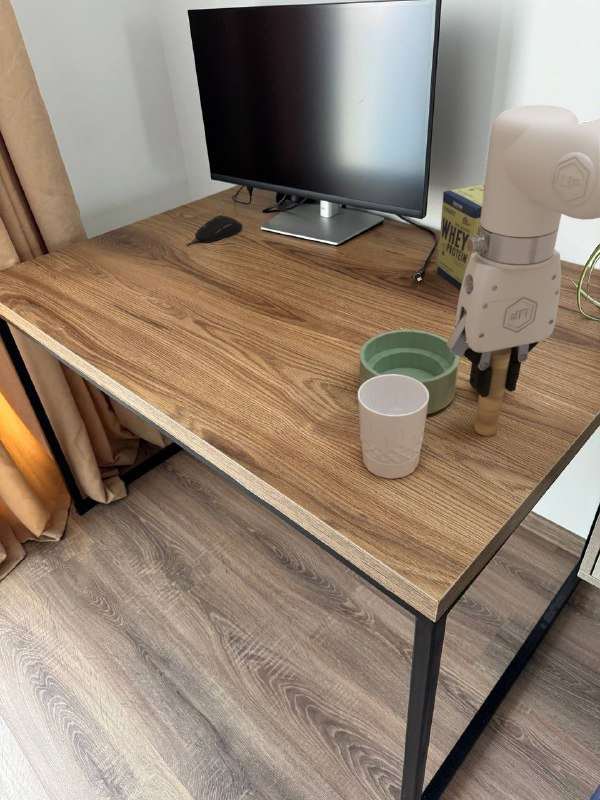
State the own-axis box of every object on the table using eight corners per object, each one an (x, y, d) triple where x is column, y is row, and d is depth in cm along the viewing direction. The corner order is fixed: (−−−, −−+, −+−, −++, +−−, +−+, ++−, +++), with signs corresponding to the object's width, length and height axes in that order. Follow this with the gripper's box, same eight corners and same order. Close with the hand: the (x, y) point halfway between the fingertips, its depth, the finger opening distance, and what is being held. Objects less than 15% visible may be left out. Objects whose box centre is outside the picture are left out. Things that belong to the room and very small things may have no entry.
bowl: (430, 357, 89) (433, 322, 85) (472, 408, 78) (477, 370, 75) (347, 374, 87) (347, 339, 83) (379, 428, 76) (380, 391, 73)
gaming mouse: (179, 242, 133) (176, 225, 130) (232, 224, 140) (230, 207, 138) (194, 249, 129) (191, 232, 126) (248, 230, 136) (246, 213, 134)
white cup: (428, 444, 73) (434, 379, 67) (417, 488, 67) (422, 421, 61) (366, 434, 75) (367, 369, 69) (350, 475, 69) (349, 409, 64)
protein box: (435, 272, 112) (441, 190, 103) (505, 257, 116) (517, 176, 106) (465, 295, 104) (475, 208, 95) (539, 278, 108) (556, 192, 98)
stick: (490, 420, 76) (503, 340, 69) (501, 433, 74) (516, 352, 67) (470, 424, 75) (481, 345, 68) (481, 438, 73) (493, 357, 66)
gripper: (459, 268, 56) (443, 420, 67) (610, 242, 58) (571, 392, 69) (426, 241, 61) (416, 384, 72) (564, 218, 64) (535, 359, 75)
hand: (492, 386), depth 71 cm, fingers closed on stick, 2 cm apart
